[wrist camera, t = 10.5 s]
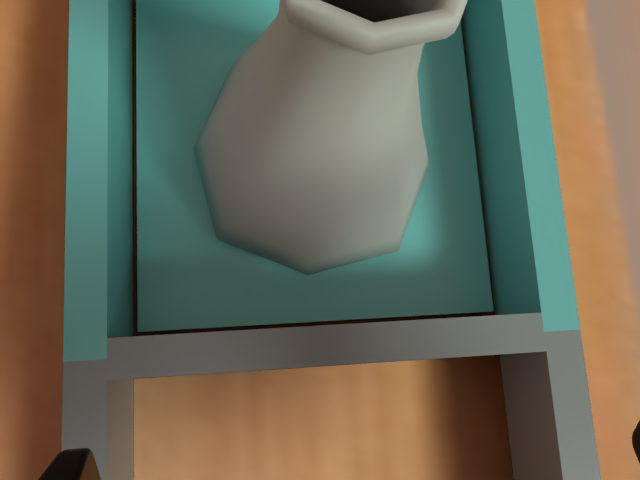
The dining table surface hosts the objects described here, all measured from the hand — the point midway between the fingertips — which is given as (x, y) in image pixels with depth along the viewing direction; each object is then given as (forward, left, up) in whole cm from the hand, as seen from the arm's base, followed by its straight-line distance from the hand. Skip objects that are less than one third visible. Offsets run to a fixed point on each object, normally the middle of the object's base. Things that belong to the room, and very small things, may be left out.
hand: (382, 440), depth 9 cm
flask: (+6, +5, -8) cm, 11 cm away
